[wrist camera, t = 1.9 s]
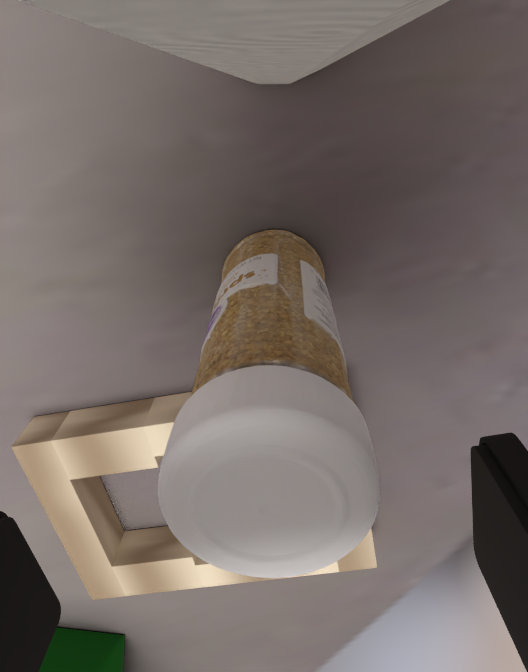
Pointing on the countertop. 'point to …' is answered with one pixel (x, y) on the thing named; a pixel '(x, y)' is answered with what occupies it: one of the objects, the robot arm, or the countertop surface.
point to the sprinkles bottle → (270, 425)
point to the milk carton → (84, 652)
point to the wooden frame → (97, 510)
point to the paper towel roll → (248, 30)
